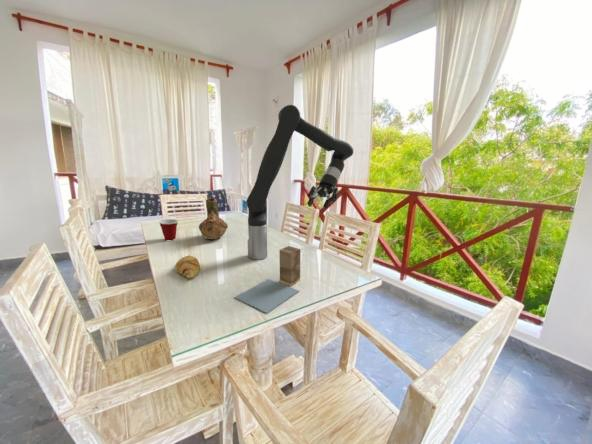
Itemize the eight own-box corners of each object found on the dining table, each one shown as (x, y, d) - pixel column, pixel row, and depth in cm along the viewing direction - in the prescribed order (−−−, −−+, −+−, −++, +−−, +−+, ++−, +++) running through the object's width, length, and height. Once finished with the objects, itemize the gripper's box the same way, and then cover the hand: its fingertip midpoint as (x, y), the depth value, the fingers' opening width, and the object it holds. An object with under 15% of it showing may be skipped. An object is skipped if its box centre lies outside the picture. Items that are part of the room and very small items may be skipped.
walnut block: (291, 286, 101) (291, 253, 98) (279, 282, 105) (279, 249, 102) (300, 280, 106) (300, 249, 103) (288, 276, 110) (288, 246, 106)
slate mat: (266, 313, 83) (266, 312, 83) (234, 298, 93) (234, 297, 93) (299, 291, 97) (299, 290, 97) (268, 279, 107) (268, 278, 107)
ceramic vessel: (198, 246, 145) (194, 203, 139) (201, 234, 170) (197, 196, 163) (229, 244, 150) (226, 202, 144) (227, 232, 174) (225, 195, 168)
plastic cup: (175, 242, 153) (173, 222, 150) (157, 242, 153) (154, 222, 150) (183, 236, 163) (181, 218, 160) (166, 236, 163) (164, 218, 160)
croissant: (199, 286, 108) (207, 269, 108) (175, 281, 102) (183, 263, 102) (191, 267, 126) (198, 252, 126) (170, 261, 120) (178, 246, 120)
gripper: (314, 173, 122) (300, 200, 117) (340, 173, 113) (326, 203, 108) (321, 183, 128) (307, 209, 122) (346, 184, 119) (333, 213, 113)
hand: (316, 206), depth 115 cm, fingers open, 8 cm apart
